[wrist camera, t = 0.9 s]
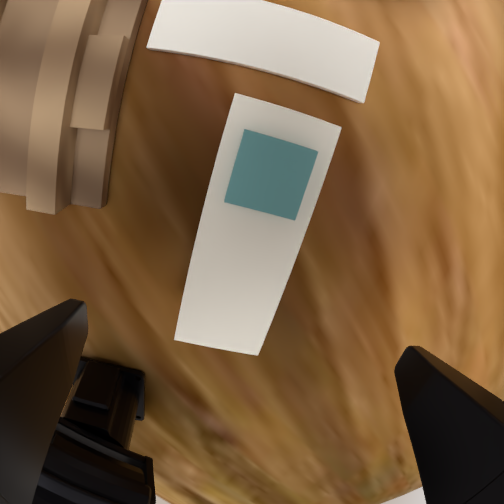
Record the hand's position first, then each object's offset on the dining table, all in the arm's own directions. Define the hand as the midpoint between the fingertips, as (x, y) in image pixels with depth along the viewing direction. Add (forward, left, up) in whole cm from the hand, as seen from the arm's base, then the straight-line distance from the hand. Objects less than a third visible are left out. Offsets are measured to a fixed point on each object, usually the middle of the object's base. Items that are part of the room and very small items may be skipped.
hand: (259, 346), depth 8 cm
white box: (0, 0, -12) cm, 12 cm away
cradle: (+7, +15, -11) cm, 20 cm away
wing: (+10, +1, -12) cm, 16 cm away
